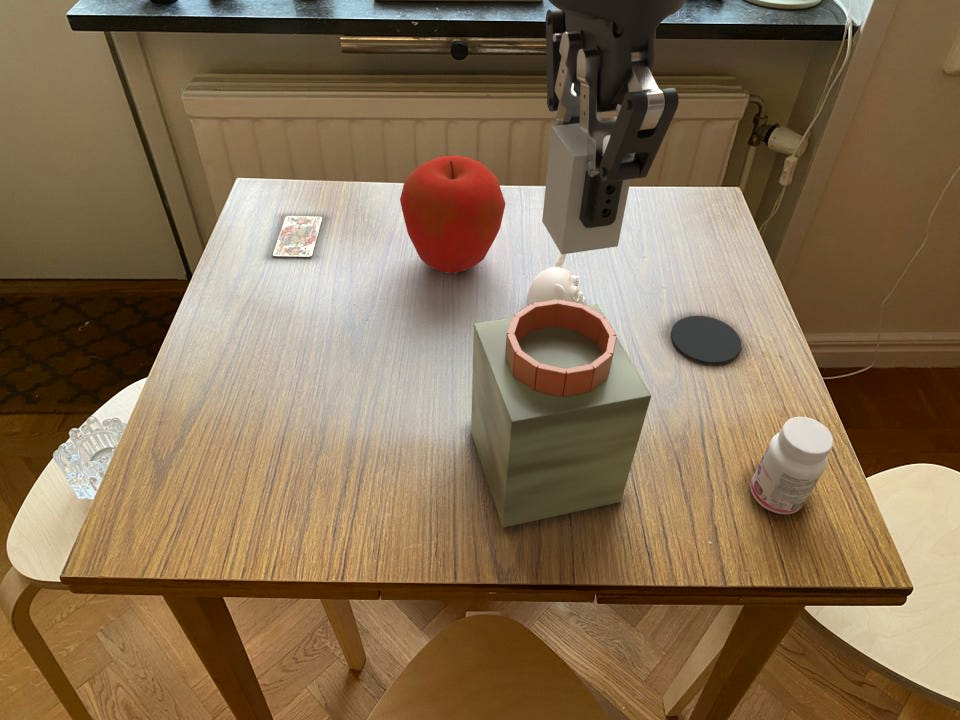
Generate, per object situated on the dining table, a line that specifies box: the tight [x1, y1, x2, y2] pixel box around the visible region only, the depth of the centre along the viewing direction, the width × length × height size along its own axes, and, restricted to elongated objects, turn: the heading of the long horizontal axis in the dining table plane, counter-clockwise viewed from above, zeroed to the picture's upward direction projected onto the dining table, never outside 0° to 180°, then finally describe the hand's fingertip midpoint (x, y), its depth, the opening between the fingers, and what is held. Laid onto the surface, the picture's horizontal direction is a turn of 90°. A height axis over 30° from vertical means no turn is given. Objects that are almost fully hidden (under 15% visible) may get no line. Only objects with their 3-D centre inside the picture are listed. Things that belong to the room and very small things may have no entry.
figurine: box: [526, 253, 586, 307], centre depth 79 cm, size 8×6×7 cm
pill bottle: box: [750, 416, 834, 515], centre depth 61 cm, size 5×5×8 cm
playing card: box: [272, 215, 323, 258], centre depth 90 cm, size 9×5×1 cm, turn 0°
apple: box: [399, 155, 506, 274], centre depth 82 cm, size 12×12×14 cm
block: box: [541, 123, 635, 255], centre depth 45 cm, size 4×4×7 cm
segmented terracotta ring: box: [505, 300, 618, 397], centre depth 55 cm, size 8×8×2 cm
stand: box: [470, 303, 652, 528], centre depth 61 cm, size 11×11×14 cm
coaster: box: [670, 315, 742, 366], centre depth 78 cm, size 8×8×1 cm
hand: (583, 203), depth 46 cm, fingers closed on block, 4 cm apart
